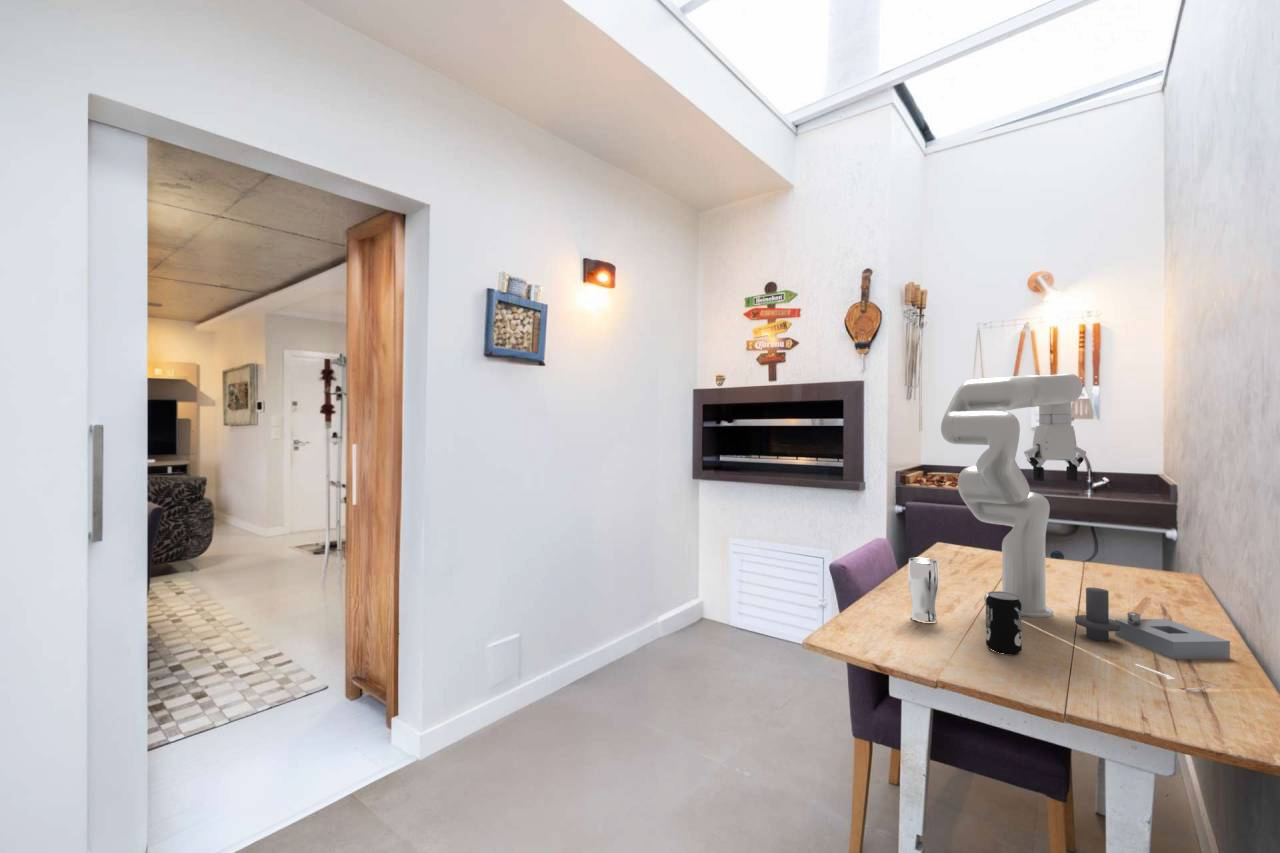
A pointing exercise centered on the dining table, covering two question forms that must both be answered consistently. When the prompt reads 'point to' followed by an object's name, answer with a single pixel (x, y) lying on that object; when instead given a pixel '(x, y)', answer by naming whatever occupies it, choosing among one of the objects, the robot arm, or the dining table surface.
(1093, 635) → the plug
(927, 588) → the beer glass
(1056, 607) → the dining table surface
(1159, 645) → the socket block
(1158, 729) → the dining table surface
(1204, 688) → the fork
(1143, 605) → the orange stick
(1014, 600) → the beverage can
